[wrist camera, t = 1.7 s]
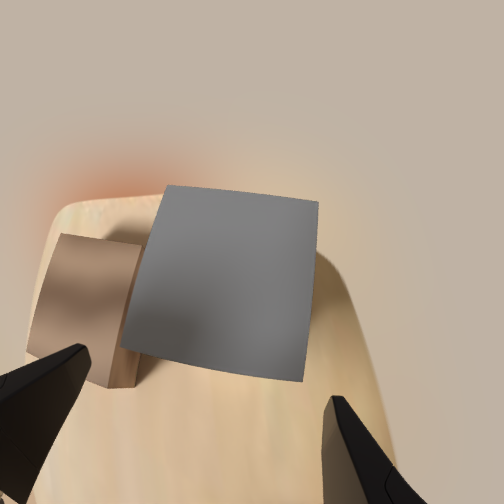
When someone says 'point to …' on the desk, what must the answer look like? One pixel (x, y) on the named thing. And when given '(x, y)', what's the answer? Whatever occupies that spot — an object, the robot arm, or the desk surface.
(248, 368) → the gray block
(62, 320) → the walnut block
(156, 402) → the desk surface
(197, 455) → the desk surface
